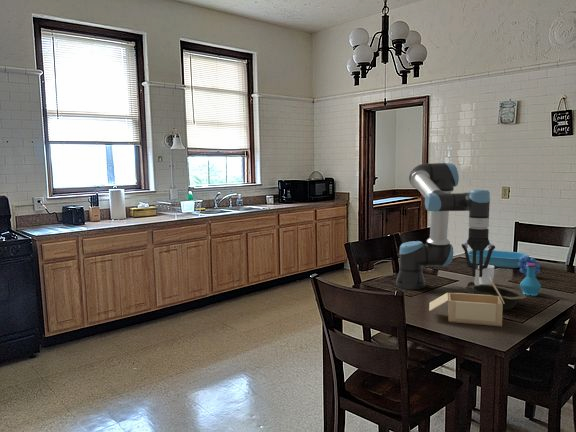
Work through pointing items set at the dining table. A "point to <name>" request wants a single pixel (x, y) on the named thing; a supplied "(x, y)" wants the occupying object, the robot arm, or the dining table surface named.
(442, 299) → the flap
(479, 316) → the carton
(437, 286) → the dining table surface
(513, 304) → the stone bowl
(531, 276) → the perfume bottle
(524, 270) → the grapes
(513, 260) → the casserole dish
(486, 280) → the white cup
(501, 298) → the flap
